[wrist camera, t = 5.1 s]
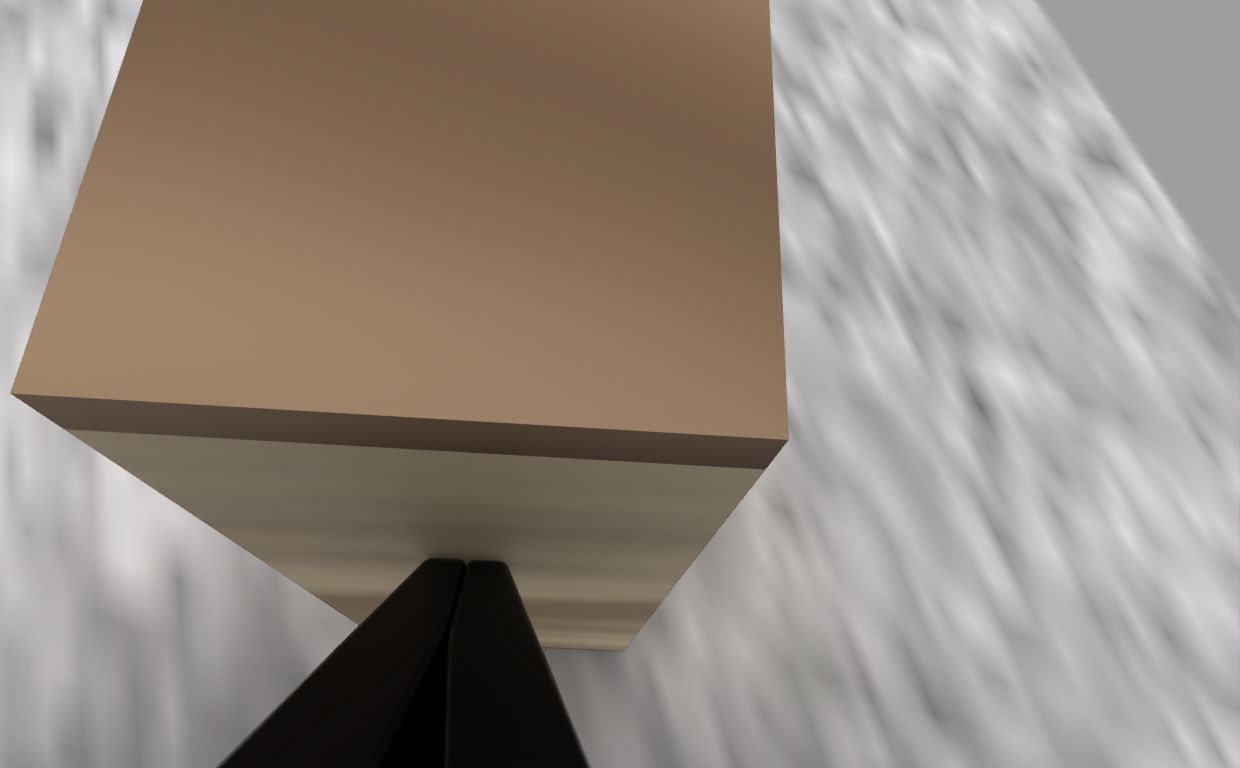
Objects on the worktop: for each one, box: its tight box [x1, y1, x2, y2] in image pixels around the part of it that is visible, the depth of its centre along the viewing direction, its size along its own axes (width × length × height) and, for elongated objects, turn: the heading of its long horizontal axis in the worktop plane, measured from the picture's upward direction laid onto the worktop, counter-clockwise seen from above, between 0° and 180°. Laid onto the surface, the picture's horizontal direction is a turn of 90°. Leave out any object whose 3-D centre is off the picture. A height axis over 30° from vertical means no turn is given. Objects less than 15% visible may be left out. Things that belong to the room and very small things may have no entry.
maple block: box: [11, 0, 789, 651], centre depth 11 cm, size 4×4×12 cm
